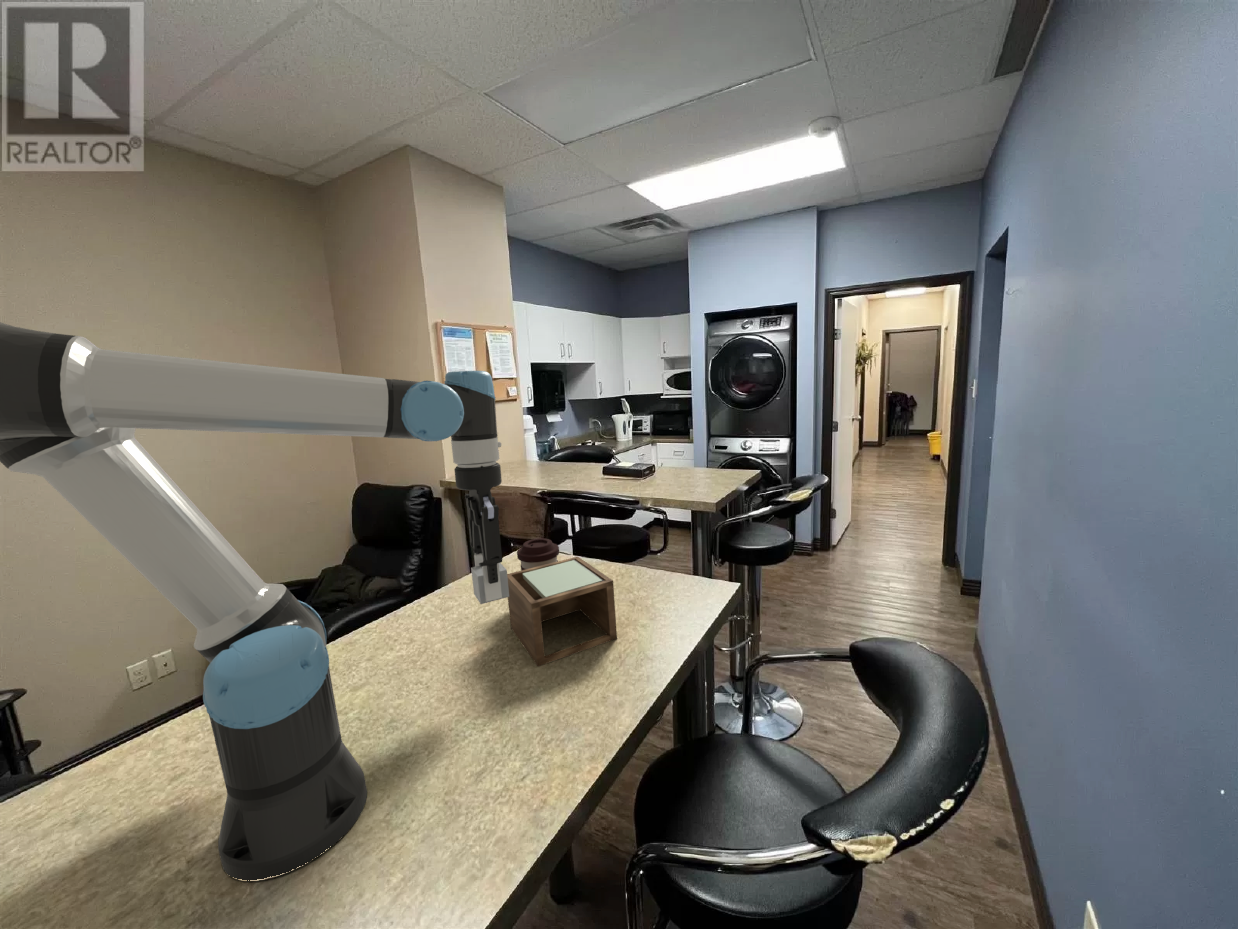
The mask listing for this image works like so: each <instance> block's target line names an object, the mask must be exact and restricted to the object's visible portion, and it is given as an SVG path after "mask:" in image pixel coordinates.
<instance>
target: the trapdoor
mask: <svg viewBox="0 0 1238 929" xmlns="http://www.w3.org/2000/svg"><path fill="white" fill-rule="evenodd" d="M523 579H524V580H525V581H526V582H527V583H528V584H529V585H530V586H531V587H532V588H533V589H534V590H535V591H536V592H537V593H538V594H539V595H540V596H541V597H542V598H546V597H549V596H553V595H556V594H560V593H563V592H567V591H570V590H574V589H578V588H581V587H585V586H588V585H592V584H595V583H599V582H602V581H604V580H602V579H601V578H599V577H598V576H597V575H595V574H594V573H592V572H591V571H589V570H588V569H587V568H585V567H584V566H582V565H581V564H580V563H578V562H577V561H575V560H572V561H568V562H565V563H561V564H557V565H553V566H549V567H546V568H542V569H538V570H534V571H530V572H527V573H523Z"/></svg>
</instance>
